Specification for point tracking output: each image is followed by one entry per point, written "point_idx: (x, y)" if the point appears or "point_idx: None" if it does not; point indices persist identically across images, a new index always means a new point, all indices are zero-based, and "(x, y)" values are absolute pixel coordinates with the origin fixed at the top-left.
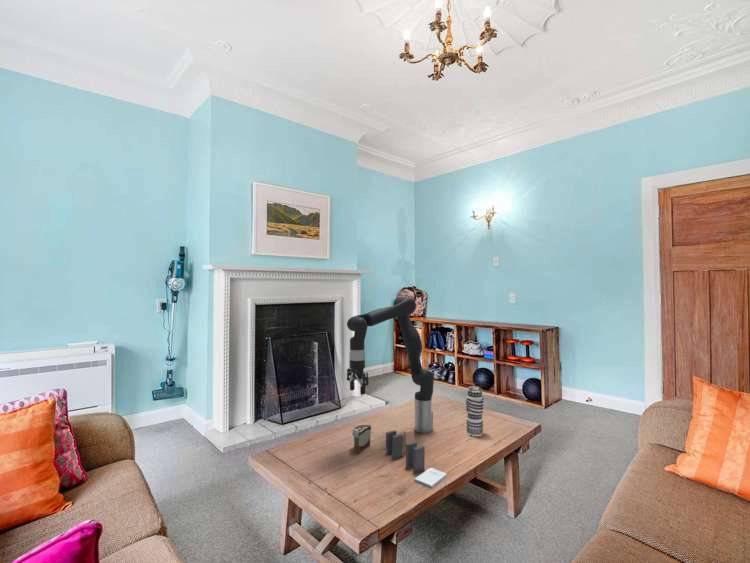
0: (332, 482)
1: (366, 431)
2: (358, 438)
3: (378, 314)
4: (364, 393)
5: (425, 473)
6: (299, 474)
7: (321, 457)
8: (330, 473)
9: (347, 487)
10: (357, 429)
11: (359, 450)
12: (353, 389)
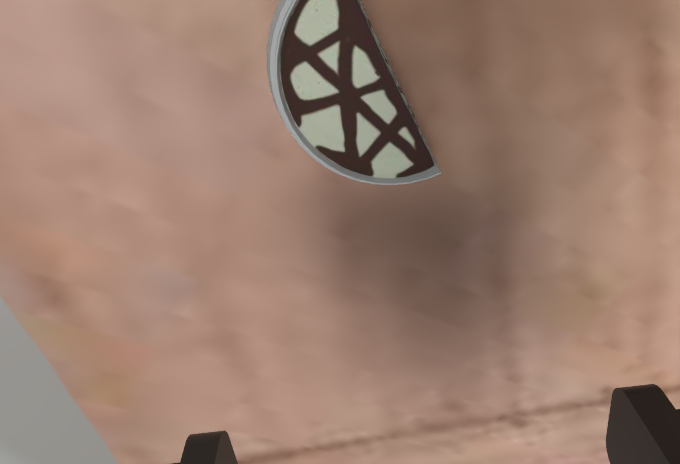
0: (587, 355)
1: (373, 35)
2: (430, 154)
3: None
4: (651, 393)
5: None
6: (428, 435)
7: (324, 313)
8: (510, 335)
9: (674, 320)
10: (323, 116)
11: (411, 110)
12: (229, 453)
